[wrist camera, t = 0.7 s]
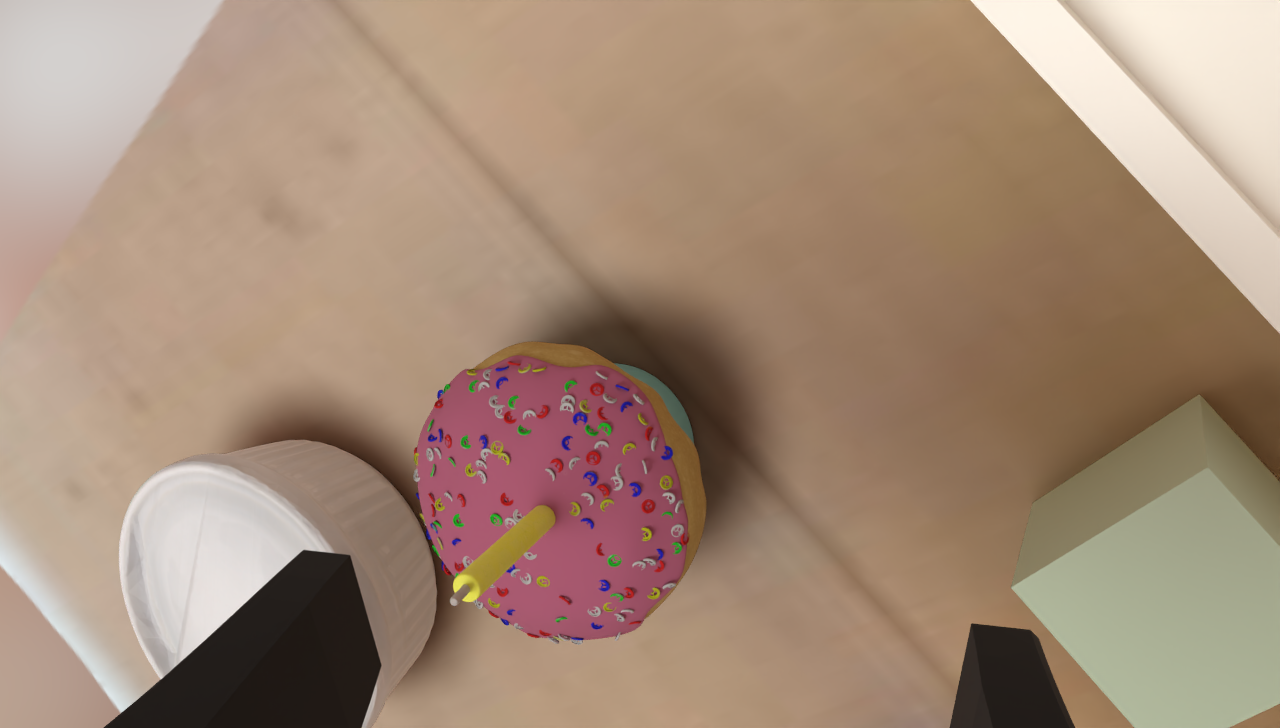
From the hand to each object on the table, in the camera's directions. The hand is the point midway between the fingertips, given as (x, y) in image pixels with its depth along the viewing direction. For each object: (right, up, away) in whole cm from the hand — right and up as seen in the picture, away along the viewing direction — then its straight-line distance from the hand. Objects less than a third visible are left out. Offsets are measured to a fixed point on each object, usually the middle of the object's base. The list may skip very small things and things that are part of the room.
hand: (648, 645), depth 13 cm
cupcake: (0, +1, +21) cm, 21 cm away
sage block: (+14, -1, +15) cm, 20 cm away
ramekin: (-11, -4, +28) cm, 30 cm away
